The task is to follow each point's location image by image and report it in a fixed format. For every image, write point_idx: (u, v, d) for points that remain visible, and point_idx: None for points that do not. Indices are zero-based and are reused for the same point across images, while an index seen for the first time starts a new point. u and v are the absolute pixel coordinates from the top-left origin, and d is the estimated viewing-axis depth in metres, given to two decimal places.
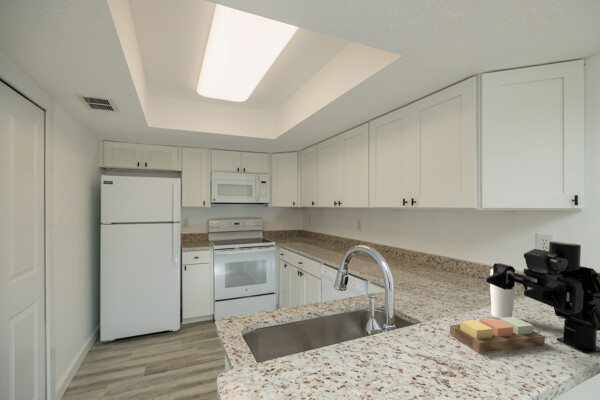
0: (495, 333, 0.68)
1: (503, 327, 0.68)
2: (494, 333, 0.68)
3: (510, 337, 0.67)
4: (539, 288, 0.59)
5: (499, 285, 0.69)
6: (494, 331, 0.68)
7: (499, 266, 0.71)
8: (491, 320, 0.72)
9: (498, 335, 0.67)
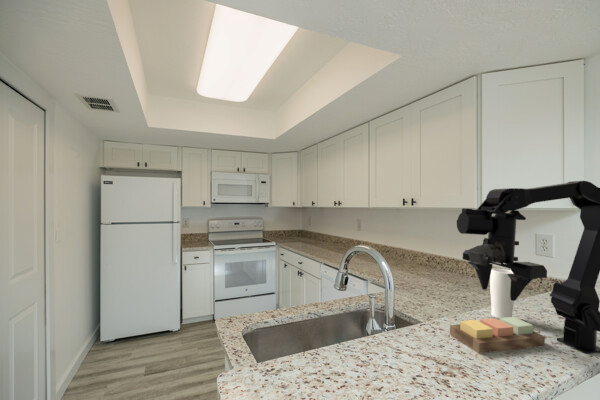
0: (495, 333, 0.68)
1: (503, 327, 0.68)
2: (494, 333, 0.68)
3: (510, 337, 0.67)
4: (512, 288, 0.65)
5: (489, 273, 0.75)
6: (494, 331, 0.68)
7: None
8: (491, 320, 0.72)
9: (498, 335, 0.67)
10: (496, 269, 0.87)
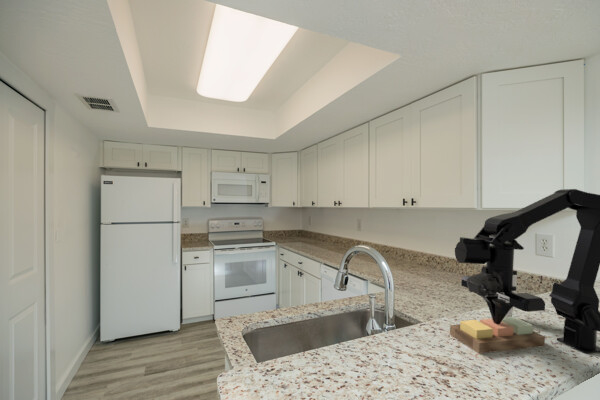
0: (495, 333, 0.68)
1: (503, 327, 0.68)
2: (494, 333, 0.68)
3: (510, 337, 0.67)
4: (496, 312, 0.69)
5: None
6: (494, 332, 0.68)
7: (481, 295, 0.72)
8: (491, 320, 0.72)
9: (498, 335, 0.67)
10: None
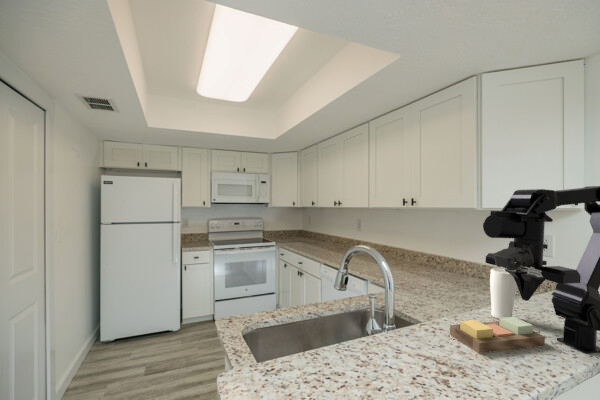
0: None
1: (503, 333, 0.68)
2: None
3: (510, 337, 0.67)
4: (525, 288, 0.66)
5: None
6: None
7: (508, 271, 0.69)
8: (491, 326, 0.72)
9: None
10: (496, 269, 0.87)
